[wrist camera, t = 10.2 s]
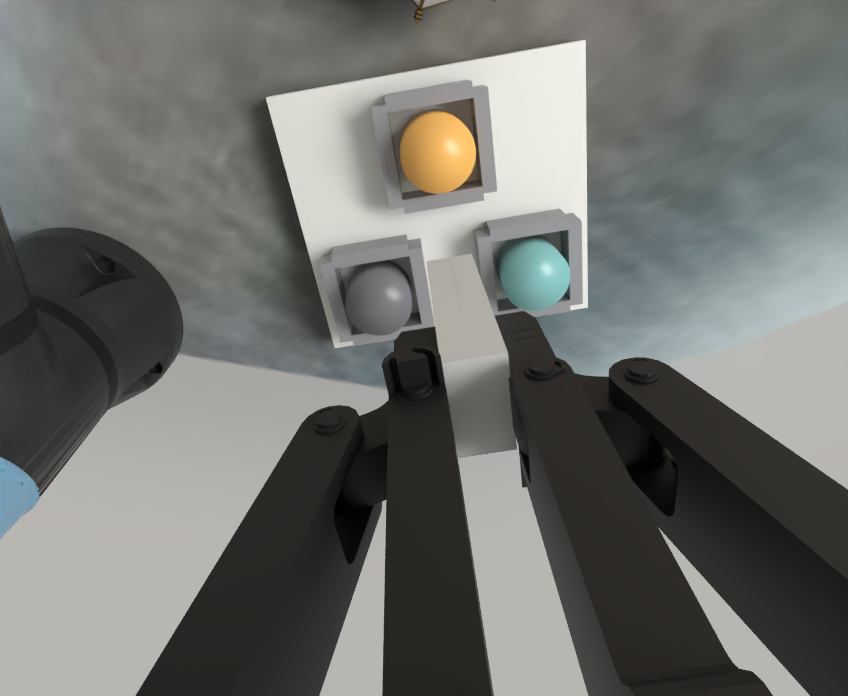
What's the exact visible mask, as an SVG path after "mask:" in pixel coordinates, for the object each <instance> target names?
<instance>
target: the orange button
mask: <svg viewBox="0 0 848 696" xmlns="http://www.w3.org/2000/svg"><path fill="white" fill-rule="evenodd" d="M400 158H401V164H402V168H403V171H404V173H405V175H406V176H407V178H408V179H409V181H410V182H411V183H412V184H413V185H415V186H416V187H417V188H419V189H420V190H423V191H425V192H428V193H433V194H441V193H447V192H450V191H452V190H454V189H456V188H458V187H459V186H461V185H462V184H463V183H464V182H465V181H466V180H467V178H468V177H469V175H470V174H471V172H472V170H473V167H474V164H475V160H476V147H475V142H474V139H473V137H472V134H471V133H470V131H469V129H468V128H467V127H466V126H465V125H464V124H463V123H462V121H461V120H460V119H459V118H458V117H456V116H455V115H454V114H452V113H450V112H448V111H445V110H441V109H429V110H425V111H423V112H420V113H419V114H417V115H416V116H414V117H413V118H412V119H411V120H410V121H409V122H408V124H407V125H406V127H405V128H404V130H403V133H402V136H401V141H400Z"/></svg>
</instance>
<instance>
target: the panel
mask: <svg viewBox="0 0 848 696" xmlns="http://www.w3.org/2000/svg"><path fill="white" fill-rule="evenodd" d="M266 101H267V104H268V108H269V111H270V115H271V119H272V122H273V126H274V130H275V133H276V137H277V140H278V144H279V148H280V151H281V155H282V159H283V162H284V166H285V170H286V173H287V177H288V180H289V184H290V188H291V191H292V195H293V199H294V202H295V206H296V209H297V213H298V217H299V220H300V224H301V228H302V231H303V235H304V238H305V242H306V246H307V249H308V253H309V257H310V260H311V264H312V267H313V271H314V275H315V278H316V282H317V286H318V289H319V293H320V296H321V300H322V304H323V307H324V311H325V315H326V318H327V322H328V325H329V329H330V333H331V336H332V340H333V344H334V347H335V348H339V347H345V346H351V345H354V346H358V345H364V344H370V343H377V342H383V341H389V340H395V339H396V338H397V337H398V336H399V334H400V333H401V332H403V331H409V330H416V329H422V328H428V327H435V321H434V314H433V307H432V299H431V292H430V285H429V277H428V270H427V263H426V261H431V260H437V259H443V258H449V257H455V256H461V255H467V254H472V256H473V259H474V262H475V264H476V267H477V270H478V272H479V275H480V278H481V281H482V283H483V286H484V289H485V291H486V294H487V297H488V300H489V302H490V305H491V308H492V311H493V313H494V316H495V315H501V314H508V313H514V312H520V311H525V312H527V313H528V314H530V315H532V316H534V317H538V316H544V315H551V314H557V313H563V312H569V311H571V310H575V309H581V308H587V307H588V278H587V162H586V45H585V40H578V41H571V42H566V43H560V44H555V45H549V46H544V47H538V48H533V49H527V50H521V51H516V52H510V53H505V54H499V55H494V56H488V57H483V58H477V59H471V60H466V61H460V62H455V63H449V64H444V65H438V66H433V67H427V68H421V69H416V70H410V71H405V72H399V73H394V74H388V75H383V76H377V77H372V78H366V79H360V80H355V81H349V82H344V83H338V84H333V85H327V86H322V87H316V88H310V89H305V90H299V91H294V92H288V93H283V94H277V95H272V96H269V97H266ZM429 109H441V110H445V111H448V112H450V113H452V114H454V115H455V116H456V117H458V118H459V119H460V120H461V121H462V123H463V124H464V125H465V126H466V127H467V128H468V129H469V131H470V133H471V134H472V137H473V139H474V142H475V147H476V160H475V164H474V167H473V170H472V172H471V174H470V175H469V177H468V178H467V180H466V181H465V182H464V183H463V184H462V185H461V186H459V187H458V188H456V189H454V190H452V191H450V192H447V193H441V194H433V193H428V192H425V191H423V190H420V189H419V188H417V187H416V186H415V185H413V184H412V183H411V182H410V181H409V179H408V178H407V176H406V175H405V173H404V171H403V168H402V164H401V158H400V141H401V136H402V133H403V130H404V128H405V127H406V125H407V124H408V122H409V121H410V120H411V119H412V118H413V117H414V116H416V115H417V114H419V113H420V112H423V111H425V110H429ZM533 235H541V236H543V237H545V238H547V239H548V240H549V241H550V242H551V243H552V244H553V245H554V246H555V248H556V249H557V250H558V251H559V253H560V254H561V255H562V256H563V257H564V259H565V260H566V262H567V263H568V266H569V269H570V283H569V286H568V289H567V291H566V292H565V294H564V295H563V297H562V298H561V299H560V300H559V301H558V302H556V303H555V304H554V305H552V306H550V307H548V308H546V309H543V310H538V311H528V310H524V309H521V308H518V307H517V306H515V305H514V304H513V303H512V302H511V301H510V300H509V299H508V297H507V295H506V293H505V291H504V289H503V287H502V285H501V282H500V280H499V278H498V275H497V272H496V261H497V257H498V255H499V253H500V251H501V249H502V248H503V247H504V245H505V244H506V243H507V242H509V241H510V240H511V239H516V238H522V237H528V236H533ZM384 260H389V261H392V262H394V263H396V264H398V265H399V266H400V267H401V268H402V269H403V270H404V271H405V272H406V274H407V275H408V277H409V280H410V285H411V300H412V310H411V314H410V317H409V319H408V321H407V322H406V324H405V325H404V326H403V327H402V328H400V329H399V330H398V331H396V332H394V333H391V334H388V335H382V336H376V335H370V334H367V333H364V332H362V331H361V330H359V329H358V328H356V327H355V326H354V325H353V324H352V322H351V321H350V320H349V318H348V316H347V313H346V308H345V302H346V296H347V291H348V286H349V282H350V278H351V276H352V274H353V272H354V271H355V269H356V268H357V267H358V266H360V265H361V264H366V263H372V262H378V261H384Z"/></svg>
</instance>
